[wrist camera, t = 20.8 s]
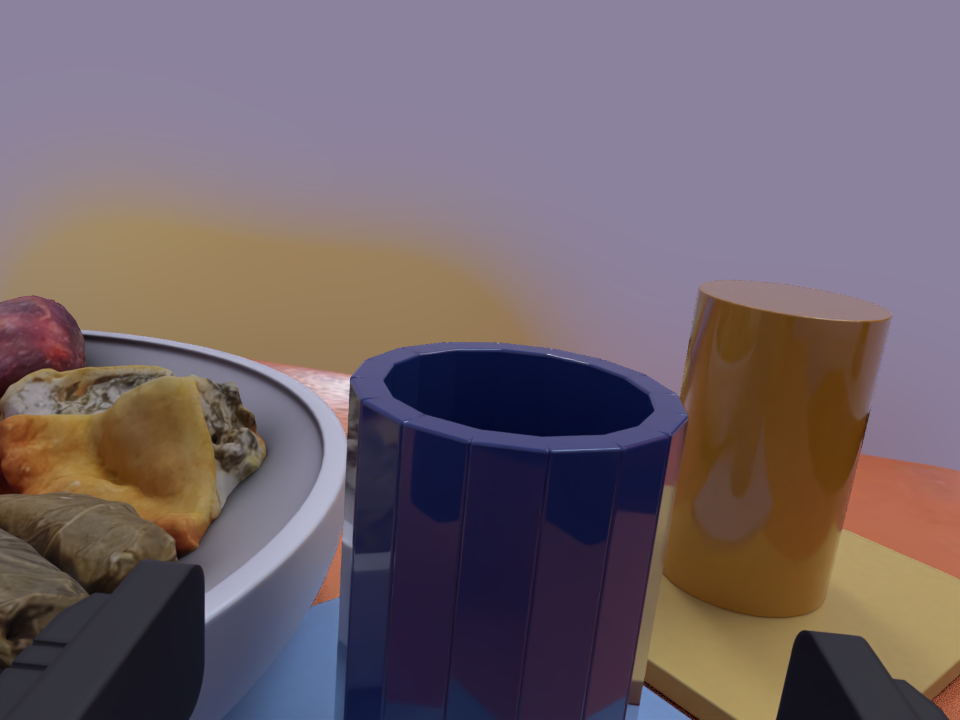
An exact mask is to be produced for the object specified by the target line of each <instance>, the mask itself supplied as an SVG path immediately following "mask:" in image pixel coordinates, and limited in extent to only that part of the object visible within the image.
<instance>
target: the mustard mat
mask: <svg viewBox="0 0 960 720" xmlns="http://www.w3.org/2000/svg"><path fill="white" fill-rule="evenodd" d="M802 630H809V631H819V632H828V633H838V634H847V635H857V636H861V637H863V638H864V639H865V640H866V641H867V642H868V643H869V645H870V646H871V648H872V649H873V651H874V652H875V653H876V655H877V656H878V658H879V659H880V661H881V662H882V664H883V665H884V666H885V668H886V669H887V671H888V672H889V674H890V675H891V677H892V678H893V679H901V680H906V681H907V682H908V683H909V684H910V685H912V686H913V687H914V688H915V689H917V690H918V691H919V692H920V693H922V694H923V695H924V696H925V697H927V698H928V699H929V700H930V701H931V700H932V699H933V698H934V697H935V696H937V695H938V694H939V693H940V692H941V691H942V690H943V689H944V688H945V687H946V686H948V685H949V684H950V683H951V682H952V681H953V680H954V679H955V678H956V677H957V676H959V675H960V579H958V578H956V577H953V576H951V575H949V574H946V573H944V572H942V571H940V570H937V569H935V568H933V567H930V566H928V565H926V564H923V563H921V562H919V561H917V560H914V559H912V558H910V557H907V556H905V555H903V554H900V553H898V552H896V551H894V550H891V549H889V548H887V547H884V546H882V545H880V544H877V543H875V542H873V541H871V540H868V539H866V538H864V537H861V536H859V535H857V534H854V533H852V532H850V531H848V530H845V529H842V533H841V537H840V541H839V546H838V550H837V554H836V558H835V563H834V567H833V571H832V575H831V580H830V584H829V588H828V592H827V596H826V599H825V601H824V602H823V603H822V605H821V606H820V607H818V608H817V609H816V610H814V611H812V612H810V613H807V614H804V615H800V616H794V617H784V618H770V617H759V616H752V615H746V614H742V613H737V612H733V611H730V610H726V609H723V608H720V607H717V606H714V605H712V604H709V603H707V602H704V601H702V600H700V599H698V598H696V597H694V596H692V595H690V594H688V593H687V592H685V591H683V590H682V589H680V588H679V587H677V586H676V585H675V584H674V583H672V582H671V581H670V580H669V579H668V578H667V577H666V576H665V575H664V574H663V573H662V577H661V583H660V589H659V595H658V601H657V607H656V613H655V618H654V624H653V630H652V636H651V642H650V648H649V654H648V659H647V665H646V671H645V677H644V681H645V682H647V683H648V684H649V685H651V686H652V687H654V688H655V689H656V690H658V691H659V692H661V693H662V694H664V695H665V696H666V697H668V698H669V699H671V700H672V701H673V702H675V703H676V704H678V705H679V706H681V707H682V708H683V709H685V710H686V711H688V712H689V713H690V714H692V715H693V716H695V717H696V718H698V719H699V720H776V717H777V712H778V708H779V703H780V699H781V695H782V690H783V686H784V682H785V677H786V673H787V669H788V664H789V660H790V656H791V651H792V647H793V643H794V640H795V638H796V636H797V635H798V633H799V632H800V631H802Z"/></svg>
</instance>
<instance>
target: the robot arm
mask: <svg viewBox="0 0 960 720" xmlns="http://www.w3.org/2000/svg"><path fill="white" fill-rule="evenodd" d="M204 667H205V577H204V572H203V569H202V567H201V566H200V565H197V564H187V563H178V562H168V561H158V560H149V559H144V560H142V561H140V562H139V563H138V564H137V565H136V566H135V567H134V569H133V570H132V571H131V572H130V573H129V574H128V575H127V577H126V578H125V579H124V580H123V581H122V582H121V583H120V585H119V586H118V587H117V588H116V589H115V590H114V591H113V593H112V594H105V593H93V594H92V595H90V596H88V597H86V598H84V599H83V600H81V601H79V602H77V603H76V604H74V605H72V606H70V607H69V608H67V609H65V610H63V611H61V612H60V613H58V614H57V615H56V616H55V617H54V618H53V619H52V620H51V621H50V622H49V624H48V625H47V626H46V627H45V628H44V629H43V630H42V631H41V632H40V633H39V634H38V635H37V636H36V637H35V638H34V639H33V643H32V645H28V646H27V647H26V648H25V649H24V650H23V651H22V652H21V653H20V654H19V655H18V656H17V657H16V658H15V659H14V660H13V661H12V665H11V667H10V668H6V669H5V670H4V671H3V672H2V673H1V674H0V720H189V719H190V717H191V715H192V713H193V711H194V709H195V706H196V704H197V701H198V698H199V694H200V691H201V687H202V682H203V676H204ZM776 720H949V719H948V718H947V716H946V715H945V714H944V712H943V711H942V709H940V708H939V707H938V706H937V705H935V704H934V703H933V702H932V701H930V700H929V699H928V698H927V697H925V696H924V695H923V694H922V693H920V692H919V691H918V690H917V689H915V688H914V687H913V686H912V685H910V684H909V683H908V682H907V681H906V680H901V679H893V678H892V677H891V675H890V674H889V672H888V671H887V669H886V668H885V666H884V665H883V664H882V662H881V661H880V659H879V658H878V656H877V655H876V653H875V652H874V651H873V649H872V648H871V646H870V645H869V643H868V642H867V641H866V640H865V639H864V638H863V637H861V636H857V635H847V634H838V633H828V632H819V631H809V630H802V631H800V632H799V633H798V635H797V636H796V638H795V640H794V643H793V647H792V651H791V656H790V660H789V664H788V669H787V673H786V677H785V682H784V686H783V690H782V695H781V699H780V703H779V708H778V712H777V717H776Z"/></svg>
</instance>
